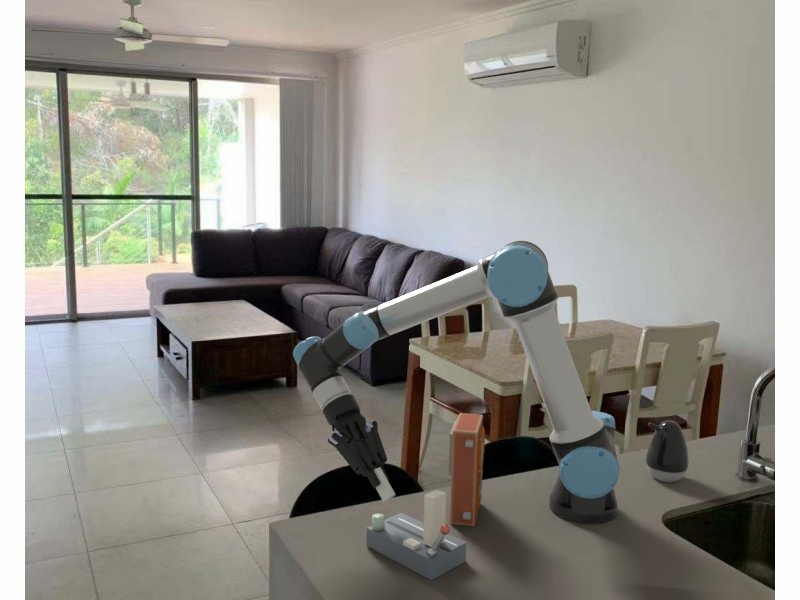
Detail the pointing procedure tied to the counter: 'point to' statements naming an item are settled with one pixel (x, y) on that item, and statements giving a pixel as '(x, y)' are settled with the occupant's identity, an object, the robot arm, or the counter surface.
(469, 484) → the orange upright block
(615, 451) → the robot arm
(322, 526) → the counter surface
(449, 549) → the switch console
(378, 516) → the push button
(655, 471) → the pump dispenser
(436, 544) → the toggle lever
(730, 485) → the counter surface
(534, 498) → the counter surface
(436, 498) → the cream rectangular block
